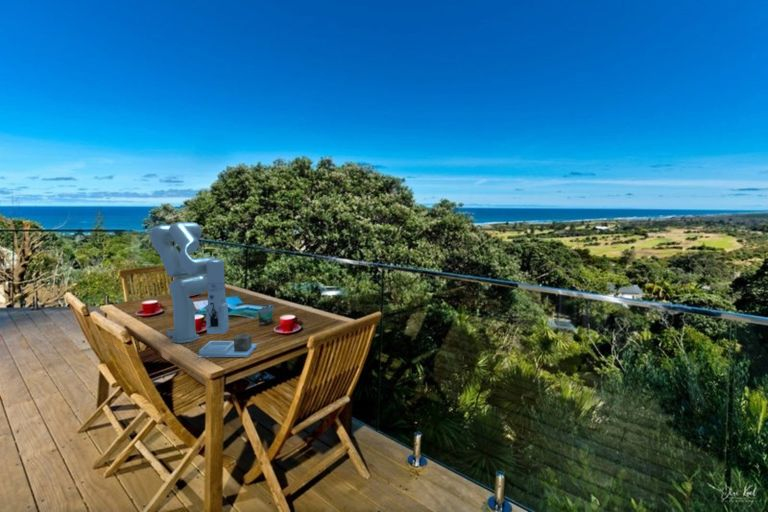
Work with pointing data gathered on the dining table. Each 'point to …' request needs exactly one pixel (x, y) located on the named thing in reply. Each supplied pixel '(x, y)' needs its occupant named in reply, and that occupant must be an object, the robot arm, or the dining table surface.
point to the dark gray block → (242, 342)
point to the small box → (222, 320)
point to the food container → (265, 315)
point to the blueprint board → (224, 349)
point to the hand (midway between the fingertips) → (217, 323)
